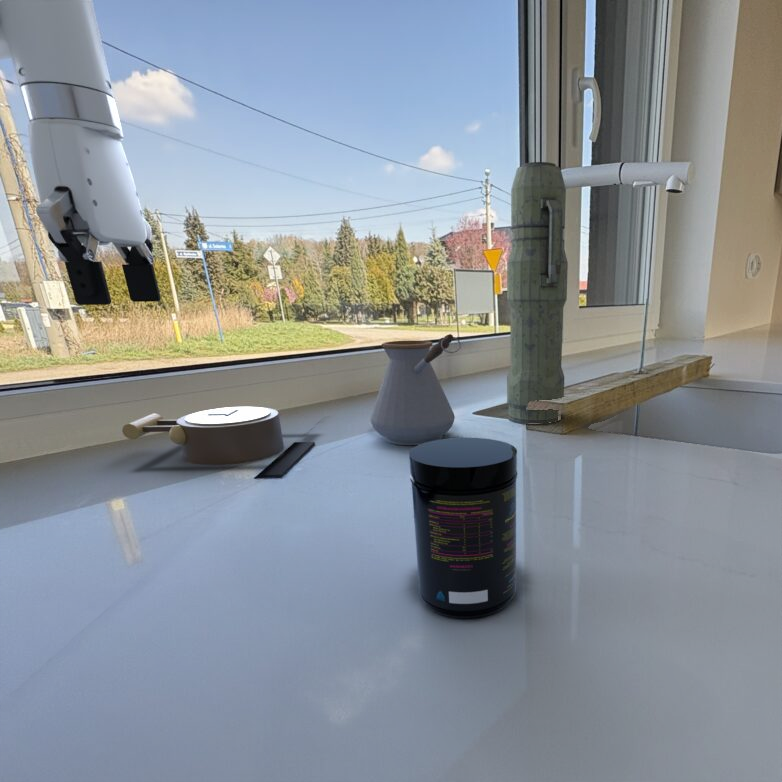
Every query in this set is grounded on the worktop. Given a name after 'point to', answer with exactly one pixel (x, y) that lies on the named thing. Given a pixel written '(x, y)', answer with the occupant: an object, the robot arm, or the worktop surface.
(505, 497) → the supplement container
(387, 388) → the coffee pot
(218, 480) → the worktop surface
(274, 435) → the clock
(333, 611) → the worktop surface
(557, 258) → the thermos
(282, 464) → the mat
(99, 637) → the worktop surface
